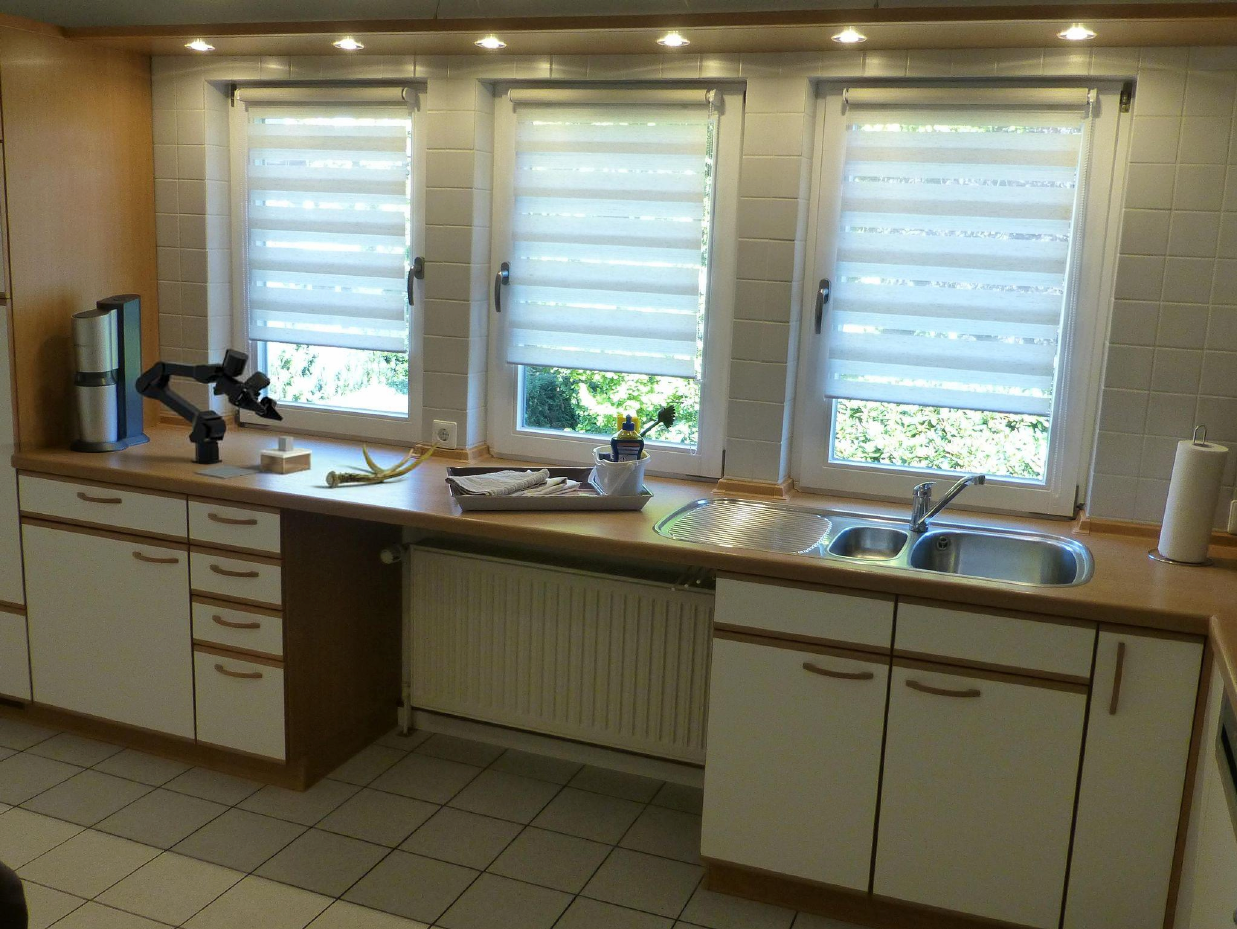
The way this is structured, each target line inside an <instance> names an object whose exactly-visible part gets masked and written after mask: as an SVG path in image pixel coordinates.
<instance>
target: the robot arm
mask: <svg viewBox="0 0 1237 929" xmlns="http://www.w3.org/2000/svg"><path fill="white" fill-rule="evenodd" d="M249 358H250V357H249V355H248V354H247V353H245V352H241V351H239V350H235V349H233V348H226V350H225V355H224V357H223V361H222V363H220V362H219V363H218V362H217V363H216V362H215V363H205V364H195V363H194V364H193V363H188V362H187V363H185V362H178V361H172V360H158V361H157V362H155V363H154V364H153V366H151V367H150V368H149V369H147V370H146V371H145V372H142V374H141V375H140V376H139V377H137V379H136V380H135V384H134V385H135V387H134V388H135V391H136V393H138V394H139V395H140V396H143V397H145V398H147V399H151V400H155V401H159V402H160V403H162V404H163V405H164V406H165V407H167V408H168V409H170V410H171V411H173V412H174V413H176V414H177V415H179V416H180V417H181V418H182V419H184V420H186V421H187V422H188V423H189V424H191V427H192V431H191V432H190V434H189V435H188V438H189V441H190V443H192V444H195V445H194V446H195V451H194V452H195V459H191V460H190V461H191V462H192V463H197V464H203V465H209V464H215V463H221V462H223V459H221V458H220V447H219V441H221V442H222V441H224V438H225V434H226V432H227V424H226V420H225V419H223V416H222V415H220V414H218V413H217V412H216V411H215V410H213V409H209V410H204V411H203V410H201V409H199V408H198V407H197V406H195V405H194V404H192V403H191V402H190V401H188V400H186V399H185V398H184V397H182V396H181V395H179V394H178V393H176V392H175V391H173V390H172V389H171V388H170V384H169V383H170V382H171V381H172V380H171V378H172V376H176V377H182V378H183V377H185V378H190V379H194V381H196V382H199V383H200V384H203V385H208V384H215V386H213V387H212V389H213V396H223V395H225V396H226V397H227V401H228V403H230V404H231V405H232V406H234V407H236V408H238V409H241V410H245V411H250V412H254V414H255V415H257V416H258V417H259V418H262V419H265V420H271V421H277V422H283V419H284V417H283V415H281V414H280V412H279V411H278V410H277V408H276V406H277V405H278V402H277V400H275V399H273V398H271V397H269V396H267V395H266V396H263V397H262V398H261V399H260V401H258V400H259V397H260V396H261V395H262V392H261V391H263V390H265V389H266V388H267V387H269V386H270V384H271V378H270V377H268V376H267V375H266V374H265V373H264V372H262V371H259V370H257V371H255V372H254V373H253V374H252V375H251V376H249V377H248V378H247V379H246V380H245V381H242V380H240V379H237V378H238V377H239V376H240V377H241V376H243V375H244V372H245V369H246V366H247V364H248V360H249Z"/></svg>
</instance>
